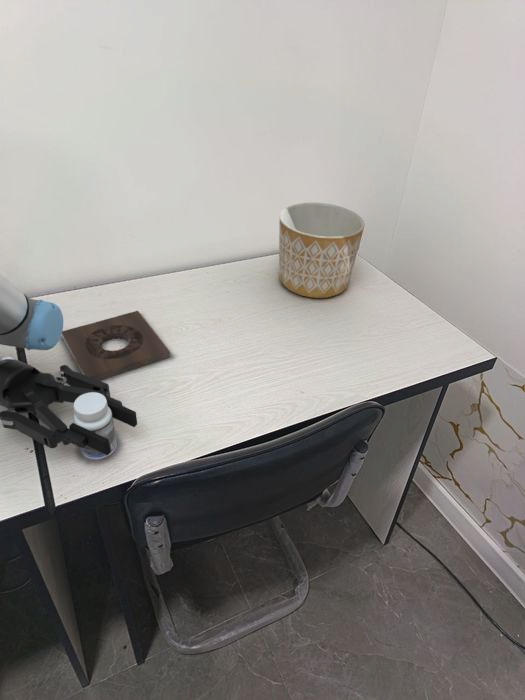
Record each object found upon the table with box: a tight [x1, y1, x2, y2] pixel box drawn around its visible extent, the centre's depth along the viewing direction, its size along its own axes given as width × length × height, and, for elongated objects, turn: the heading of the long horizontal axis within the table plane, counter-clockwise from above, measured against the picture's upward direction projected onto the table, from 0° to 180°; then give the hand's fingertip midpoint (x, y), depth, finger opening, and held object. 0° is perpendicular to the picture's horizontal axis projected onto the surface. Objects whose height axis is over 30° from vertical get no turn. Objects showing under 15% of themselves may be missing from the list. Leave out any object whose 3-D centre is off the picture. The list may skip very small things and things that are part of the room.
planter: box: [278, 202, 366, 299], centre depth 117 cm, size 19×19×16 cm
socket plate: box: [61, 310, 171, 381], centre depth 97 cm, size 16×16×2 cm
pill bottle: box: [73, 392, 118, 460], centre depth 75 cm, size 6×6×10 cm
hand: (121, 432), depth 72 cm, fingers closed on pill bottle, 5 cm apart
